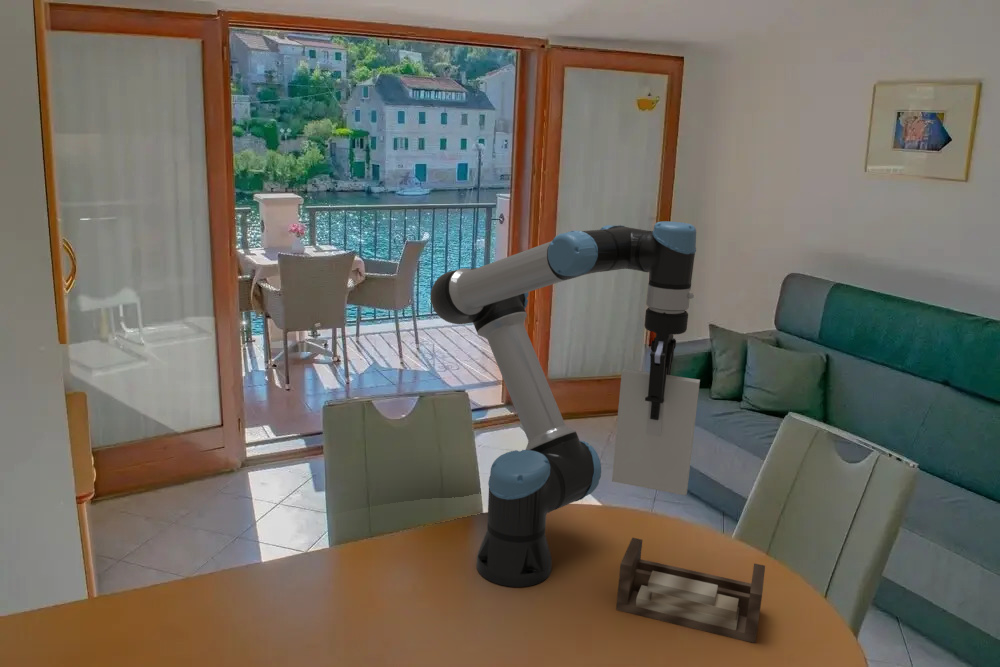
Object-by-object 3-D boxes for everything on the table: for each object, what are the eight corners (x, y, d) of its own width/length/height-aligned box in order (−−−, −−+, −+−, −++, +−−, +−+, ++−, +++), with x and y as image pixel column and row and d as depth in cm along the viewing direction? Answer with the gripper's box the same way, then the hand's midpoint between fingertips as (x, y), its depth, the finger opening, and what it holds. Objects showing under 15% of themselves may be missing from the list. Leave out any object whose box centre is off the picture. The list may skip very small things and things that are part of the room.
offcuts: (635, 606, 152) (638, 580, 150) (640, 593, 156) (643, 567, 155) (736, 630, 146) (739, 603, 144) (738, 616, 150) (741, 589, 149)
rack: (616, 609, 153) (620, 563, 151) (628, 580, 163) (632, 537, 161) (755, 643, 145) (762, 595, 142) (758, 610, 155) (765, 565, 153)
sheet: (611, 481, 157) (621, 371, 152) (614, 477, 159) (623, 368, 153) (685, 495, 152) (698, 382, 147) (687, 491, 154) (700, 379, 149)
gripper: (682, 319, 139) (668, 449, 145) (693, 304, 153) (680, 422, 159) (638, 314, 141) (626, 442, 147) (653, 299, 155) (642, 416, 161)
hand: (654, 432), depth 153 cm, fingers closed on sheet, 2 cm apart
